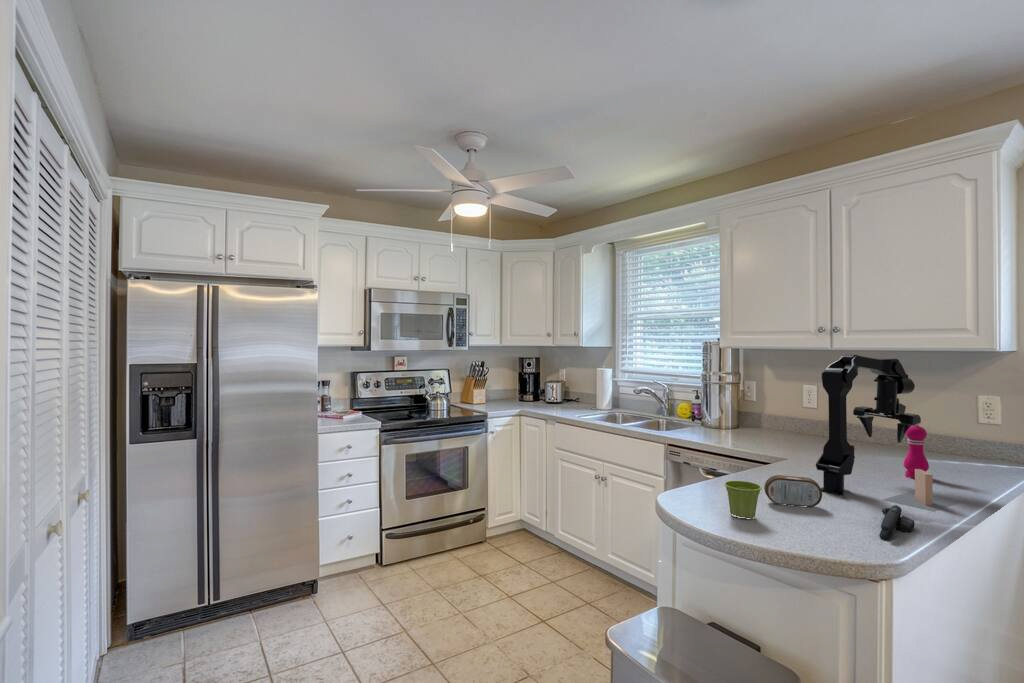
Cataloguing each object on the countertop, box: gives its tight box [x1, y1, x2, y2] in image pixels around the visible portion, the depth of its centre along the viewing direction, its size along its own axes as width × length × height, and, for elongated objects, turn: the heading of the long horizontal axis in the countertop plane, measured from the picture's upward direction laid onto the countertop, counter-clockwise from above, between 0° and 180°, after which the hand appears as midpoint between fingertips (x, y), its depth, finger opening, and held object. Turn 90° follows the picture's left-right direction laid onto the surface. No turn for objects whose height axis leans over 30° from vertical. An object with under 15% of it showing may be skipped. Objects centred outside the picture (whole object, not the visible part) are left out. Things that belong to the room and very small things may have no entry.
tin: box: [764, 474, 823, 508], centre depth 155 cm, size 15×3×8 cm, turn 71°
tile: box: [914, 469, 934, 506], centre depth 156 cm, size 2×7×9 cm, turn 163°
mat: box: [882, 491, 960, 513], centre depth 158 cm, size 18×13×1 cm
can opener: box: [878, 504, 916, 541], centre depth 133 cm, size 18×7×6 cm, turn 132°
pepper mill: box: [903, 423, 930, 479], centre depth 189 cm, size 7×7×20 cm
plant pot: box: [724, 480, 763, 518], centre depth 144 cm, size 9×9×9 cm
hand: (884, 439), depth 181 cm, fingers open, 9 cm apart
